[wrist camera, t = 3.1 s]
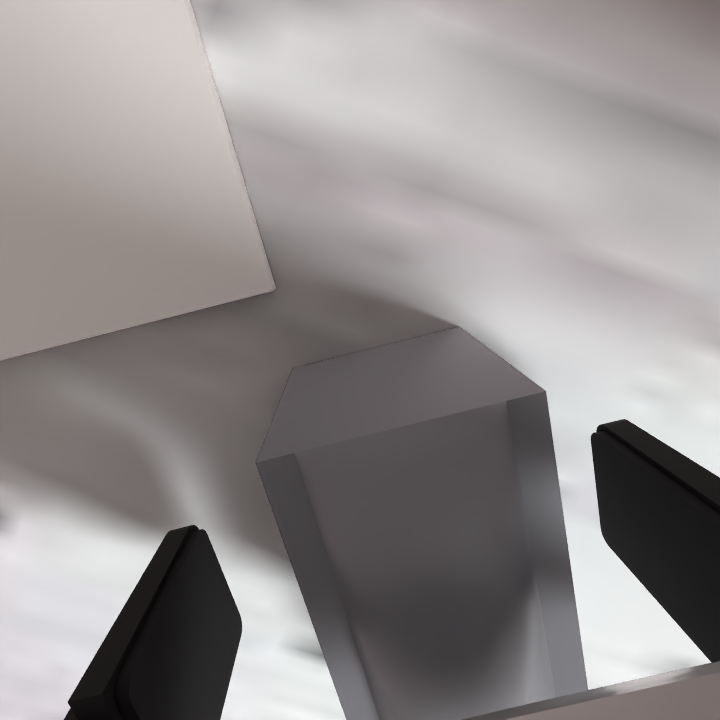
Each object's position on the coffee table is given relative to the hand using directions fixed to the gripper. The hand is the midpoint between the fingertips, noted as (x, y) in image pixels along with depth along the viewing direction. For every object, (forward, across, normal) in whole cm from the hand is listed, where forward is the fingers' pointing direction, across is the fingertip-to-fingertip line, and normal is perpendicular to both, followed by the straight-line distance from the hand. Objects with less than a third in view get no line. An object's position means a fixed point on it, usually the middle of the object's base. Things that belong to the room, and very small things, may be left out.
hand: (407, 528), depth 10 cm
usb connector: (+2, 0, +1) cm, 2 cm away
